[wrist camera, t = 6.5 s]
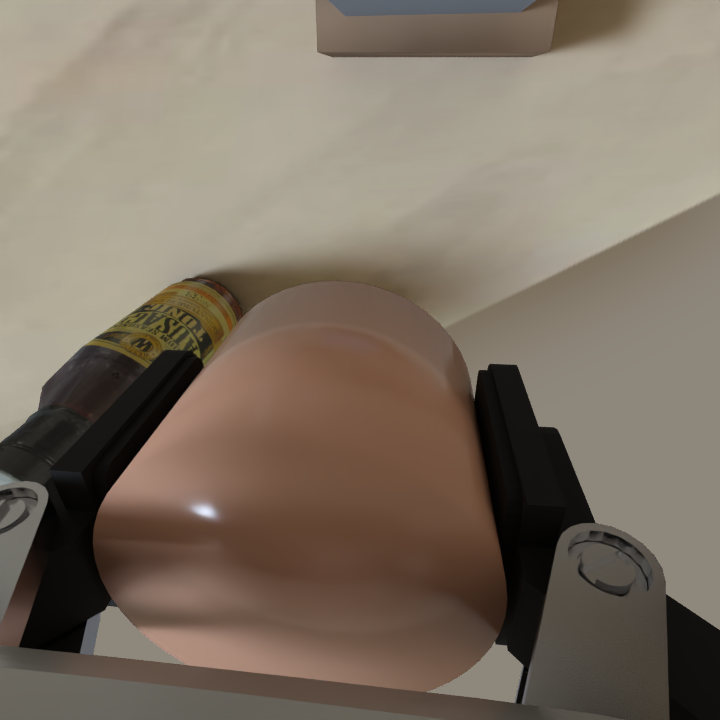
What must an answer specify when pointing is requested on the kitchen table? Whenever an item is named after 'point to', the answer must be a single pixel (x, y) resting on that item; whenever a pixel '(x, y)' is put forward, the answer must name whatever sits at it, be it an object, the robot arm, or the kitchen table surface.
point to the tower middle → (427, 7)
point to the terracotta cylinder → (315, 502)
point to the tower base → (437, 33)
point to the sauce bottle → (116, 371)
